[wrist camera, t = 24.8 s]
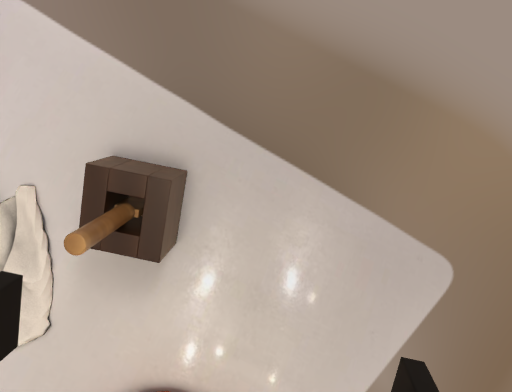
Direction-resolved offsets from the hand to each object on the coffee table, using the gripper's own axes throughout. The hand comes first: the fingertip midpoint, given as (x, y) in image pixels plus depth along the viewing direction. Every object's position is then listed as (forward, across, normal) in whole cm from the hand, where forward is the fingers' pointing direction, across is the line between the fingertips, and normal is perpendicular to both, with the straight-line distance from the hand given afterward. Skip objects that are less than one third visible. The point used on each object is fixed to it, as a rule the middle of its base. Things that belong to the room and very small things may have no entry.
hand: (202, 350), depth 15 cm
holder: (+31, -12, -4) cm, 33 cm away
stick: (+31, -12, -4) cm, 33 cm away
